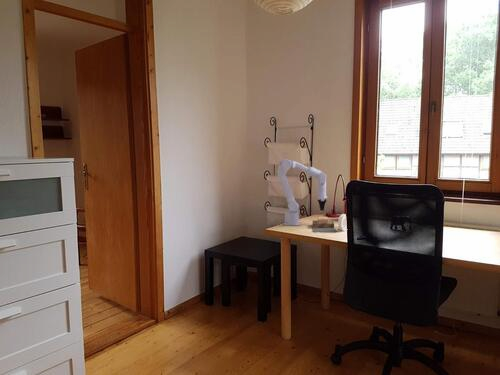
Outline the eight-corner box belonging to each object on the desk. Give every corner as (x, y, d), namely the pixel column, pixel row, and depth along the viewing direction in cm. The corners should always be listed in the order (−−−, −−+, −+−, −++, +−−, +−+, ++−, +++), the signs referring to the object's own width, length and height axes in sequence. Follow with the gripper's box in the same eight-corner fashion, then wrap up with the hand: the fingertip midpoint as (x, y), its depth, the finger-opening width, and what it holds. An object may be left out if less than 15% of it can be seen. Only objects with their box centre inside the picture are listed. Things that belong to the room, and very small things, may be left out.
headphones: (341, 232, 232) (341, 215, 231) (338, 231, 234) (338, 215, 233) (358, 226, 249) (358, 210, 248) (354, 225, 250) (354, 210, 249)
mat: (313, 232, 235) (313, 231, 235) (312, 228, 244) (312, 228, 244) (336, 232, 233) (336, 231, 233) (335, 228, 243) (335, 228, 243)
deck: (313, 228, 245) (313, 223, 245) (312, 224, 256) (312, 220, 256) (334, 228, 244) (334, 223, 243) (332, 224, 255) (332, 220, 254)
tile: (318, 223, 246) (318, 219, 246) (317, 220, 255) (317, 216, 255) (328, 223, 245) (328, 219, 245) (327, 220, 254) (327, 216, 254)
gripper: (328, 191, 250) (329, 212, 251) (327, 188, 264) (327, 208, 266) (317, 191, 251) (317, 212, 252) (316, 189, 265) (316, 208, 267)
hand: (322, 210), depth 259 cm, fingers closed
